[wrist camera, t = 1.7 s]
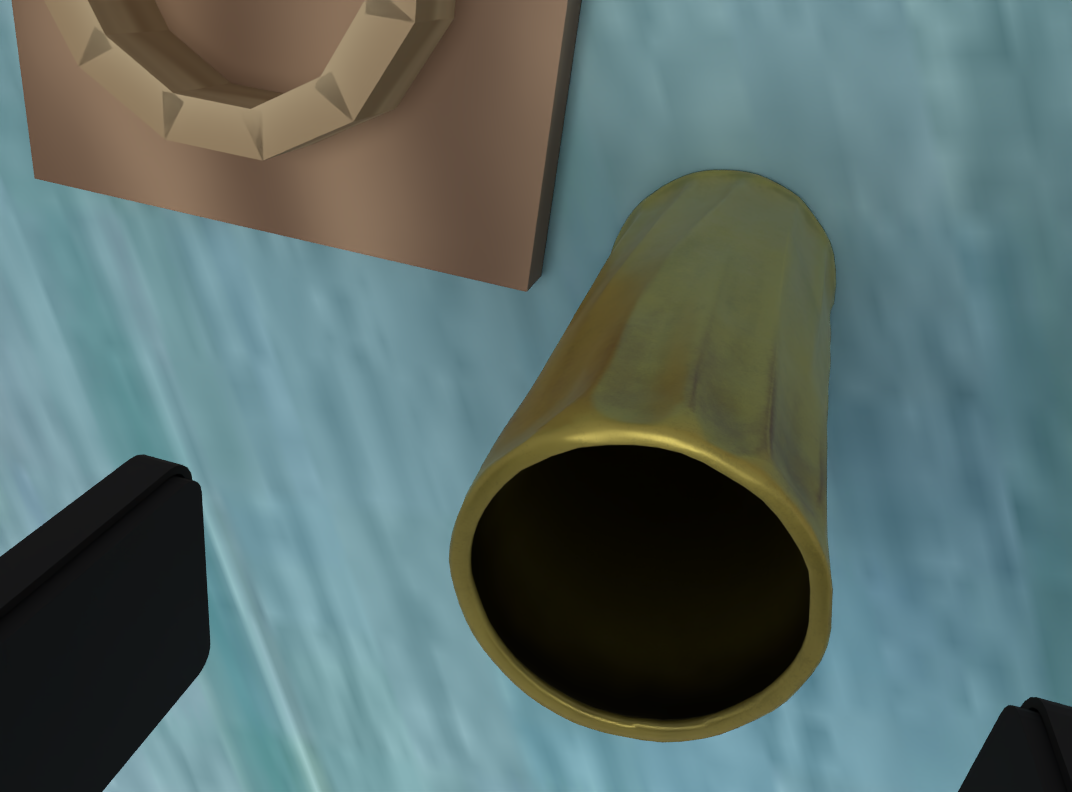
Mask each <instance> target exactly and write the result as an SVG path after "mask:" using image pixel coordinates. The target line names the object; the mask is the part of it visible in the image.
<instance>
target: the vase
mask: <svg viewBox="0 0 1072 792" xmlns="http://www.w3.org/2000/svg"><path fill="white" fill-rule="evenodd" d="M835 289H836V269H835V261H834V254H833V250H832V247H831V244H830V241H829V239H828V237H827V235H826V233H825V231H824V229H823V228H822V226H821V225H820V224H819V222H818V221H817V219H816V218H815V217H814V215H813V214H812V212H811V211H810V210H809V208H808V207H807V206H806V204H805V203H804V202H803V201H802V200H801V199H800V197H798V196H797V195H795V194H794V193H793V192H791V191H790V190H788V189H786V188H784V187H783V186H781V185H779V184H777V183H775V182H773V181H771V180H769V179H767V178H765V177H762V176H760V175H757V174H753V173H749V172H742V171H734V170H708V171H700V172H695V173H692V174H689V175H686V176H683V177H680V178H678V179H676V180H674V181H672V182H670V183H668V184H666V185H664V186H663V187H661V188H659V189H658V190H657V191H655V192H654V193H653V194H651V195H650V196H649V197H647V198H646V199H644V200H643V201H642V202H641V203H640V204H639V205H638V206H637V207H636V208H635V209H634V210H633V212H632V213H631V214H630V216H629V217H628V219H627V220H626V222H625V223H624V225H623V227H622V228H621V230H620V232H619V234H618V236H617V238H616V241H615V243H614V246H613V249H612V252H611V255H610V256H609V258H608V259H607V261H606V263H605V264H604V266H603V268H602V269H601V271H600V273H599V274H598V276H597V278H596V280H595V281H594V283H593V285H592V287H591V288H590V290H589V292H588V293H587V295H586V297H585V298H584V300H583V301H582V303H581V305H580V307H579V308H578V310H577V312H576V313H575V315H574V317H573V319H572V321H571V322H570V324H569V326H568V327H567V329H566V331H565V333H564V334H563V336H562V338H561V339H560V341H559V343H558V344H557V346H556V348H555V349H554V351H553V353H552V354H551V356H550V358H549V360H548V361H547V363H546V365H545V367H544V368H543V370H542V372H541V373H540V375H539V377H538V378H537V380H536V381H535V383H534V385H533V386H532V388H531V389H530V391H529V393H528V394H527V396H526V397H525V399H524V400H523V402H522V403H521V405H520V406H519V408H518V409H517V410H516V412H515V413H514V415H513V416H512V418H511V419H510V421H509V422H508V424H507V425H506V427H505V428H504V430H503V431H502V433H501V434H500V436H499V437H498V439H497V441H496V442H495V444H494V446H493V447H492V449H491V451H490V452H489V454H488V456H487V458H486V459H485V461H484V463H483V464H482V466H481V468H480V471H479V472H478V474H477V476H476V478H475V480H474V482H473V483H472V485H471V487H470V489H469V491H468V493H467V495H466V497H465V499H464V502H463V505H462V507H461V509H460V512H459V514H458V516H457V519H456V522H455V525H454V529H453V532H452V537H451V542H450V551H449V564H450V571H451V577H452V581H453V585H454V589H455V592H456V595H457V599H458V602H459V605H460V607H461V610H462V612H463V614H464V617H465V619H466V621H467V623H468V625H469V627H470V629H471V631H472V633H473V635H474V636H475V638H476V639H477V641H478V642H479V644H480V645H481V647H482V648H483V650H484V651H485V652H486V653H487V655H488V656H489V657H490V658H491V660H492V661H493V662H494V663H495V664H496V665H497V666H498V667H499V669H500V670H501V671H502V672H503V673H504V674H505V675H506V676H507V677H508V678H509V679H510V680H511V681H512V682H513V683H514V684H515V685H516V686H517V687H518V688H520V689H521V690H522V691H523V692H524V693H526V694H527V695H528V696H530V697H531V698H532V699H534V700H535V701H537V702H538V703H539V704H541V705H542V706H544V707H546V708H548V709H549V710H551V711H553V712H554V713H556V714H558V715H560V716H562V717H564V718H566V719H568V720H570V721H572V722H574V723H576V724H579V725H582V726H585V727H588V728H591V729H594V730H597V731H601V732H604V733H608V734H613V735H618V736H623V737H629V738H634V739H639V740H646V741H655V742H682V741H689V740H697V739H704V738H708V737H712V736H716V735H720V734H723V733H726V732H728V731H731V730H733V729H736V728H738V727H741V726H743V725H745V724H747V723H750V722H752V721H754V720H756V719H758V718H760V717H762V716H764V715H766V714H768V713H770V712H772V711H774V710H775V709H777V708H778V707H779V706H781V705H782V704H783V703H785V702H786V701H787V700H788V699H789V698H790V697H791V696H792V695H793V694H794V693H795V692H796V691H797V690H798V689H799V688H800V687H801V686H802V685H803V684H804V683H805V681H806V680H807V679H808V678H809V677H810V676H811V675H812V673H813V672H814V670H815V669H816V667H817V666H818V664H819V663H820V662H821V660H822V657H823V655H824V653H825V650H826V648H827V645H828V641H829V637H830V632H831V618H832V593H833V588H832V579H831V570H830V559H829V549H828V538H827V416H828V386H829V374H830V364H831V359H830V342H831V326H830V312H831V309H832V306H833V304H834V298H835Z"/></svg>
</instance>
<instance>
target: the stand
mask: <svg viewBox="0 0 1072 792" xmlns="http://www.w3.org/2000/svg"><path fill="white" fill-rule="evenodd" d="M581 1H582V0H12V7H13V15H14V22H15V30H16V38H17V46H18V53H19V61H20V69H21V76H22V84H23V92H24V100H25V107H26V115H27V123H28V130H29V138H30V146H31V153H32V161H33V169H34V177H35V179H40V180H44V181H48V182H53V183H57V184H61V185H66V186H70V187H74V188H79V189H83V190H87V191H92V192H96V193H100V194H105V195H109V196H113V197H118V198H122V199H126V200H131V201H135V202H139V203H144V204H148V205H153V206H157V207H161V208H166V209H170V210H174V211H179V212H183V213H187V214H192V215H196V216H200V217H205V218H209V219H213V220H218V221H222V222H226V223H231V224H235V225H239V226H244V227H248V228H252V229H257V230H261V231H265V232H270V233H274V234H278V235H283V236H287V237H291V238H296V239H300V240H304V241H309V242H313V243H317V244H322V245H326V246H330V247H335V248H339V249H343V250H348V251H352V252H356V253H361V254H365V255H369V256H374V257H378V258H382V259H387V260H391V261H396V262H400V263H404V264H409V265H413V266H417V267H422V268H426V269H430V270H435V271H439V272H443V273H448V274H452V275H456V276H461V277H465V278H469V279H474V280H478V281H482V282H487V283H491V284H495V285H500V286H504V287H508V288H513V289H517V290H521V291H526V292H527V291H528V290H529V289H530V288H531V287H532V285H533V284H534V283H535V282H536V281H537V280H538V279H539V278H540V276H541V273H542V266H543V259H544V253H545V246H546V239H547V232H548V225H549V218H550V212H551V205H552V198H553V191H554V184H555V178H556V171H557V164H558V157H559V150H560V144H561V137H562V130H563V123H564V116H565V109H566V103H567V96H568V89H569V82H570V75H571V69H572V62H573V55H574V48H575V41H576V35H577V28H578V21H579V14H580V7H581Z"/></svg>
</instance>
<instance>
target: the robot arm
mask: <svg viewBox="0 0 1072 792" xmlns="http://www.w3.org/2000/svg"><path fill="white" fill-rule="evenodd" d="M209 650H210V629H209V611H208V594H207V576H206V559H205V541H204V523H203V506H202V491H201V487H200V485H199V483H198V482H196V481H193V480H192V476H191V472H190V471H189V469H188V468H187V467H185V466H183V465H180V464H177V463H173V462H169V461H166V460H162V459H158V458H154V457H151V456H147V455H136V456H135V457H133V458H131V459H129V460H128V461H127V462H125V463H124V464H123V465H121V466H120V467H119V468H117V469H116V470H115V471H113V472H112V473H111V474H109V475H108V476H107V477H105V478H104V479H103V480H101V481H100V482H99V483H97V484H96V485H95V486H93V487H92V488H91V489H89V490H88V491H87V492H85V493H84V494H83V495H82V496H80V497H79V498H78V499H76V500H75V501H74V502H72V503H71V504H70V505H68V506H67V507H66V508H64V509H63V510H62V511H60V512H59V513H58V514H56V515H55V516H54V517H52V518H51V519H50V520H48V521H47V522H46V523H44V524H43V525H42V526H40V527H39V528H38V529H36V530H35V531H34V532H32V533H31V534H30V535H28V536H27V537H26V538H24V539H23V540H22V541H21V542H19V543H18V544H17V545H15V546H14V547H13V548H11V549H10V550H9V551H7V552H6V553H5V554H3V555H2V556H1V557H0V792H102V791H103V790H104V789H105V788H106V786H107V785H108V784H109V783H110V782H111V780H112V779H113V778H114V777H115V776H116V774H117V773H118V772H119V771H120V770H121V768H122V767H123V766H124V765H125V763H126V762H127V761H128V760H129V759H130V757H131V756H132V755H133V754H134V753H135V751H136V750H137V749H138V748H139V746H140V745H141V744H142V743H143V742H144V740H145V739H146V738H147V737H148V736H149V734H150V733H151V732H152V731H153V730H154V728H155V727H156V726H157V725H158V723H159V722H160V721H161V720H162V719H163V717H164V716H165V715H166V714H167V713H168V711H169V710H170V709H171V708H172V706H173V705H174V704H175V703H176V702H177V700H178V699H179V698H180V697H181V696H182V694H183V693H184V692H185V691H186V690H187V688H188V687H189V686H190V685H191V683H192V682H193V681H194V680H195V679H196V677H197V676H198V675H199V673H200V672H201V671H202V669H203V667H204V665H205V663H206V660H207V658H208V655H209ZM958 792H1072V707H1070V706H1067V705H1063V704H1059V703H1056V702H1052V701H1048V700H1044V699H1041V698H1037V697H1030V698H1029V699H1027V700H1026V701H1025V702H1024V703H1023V704H1022V706H1021V707H1017V706H1013V705H1008V706H1007V707H1005V708H1004V710H1003V711H1002V712H1001V714H1000V716H999V717H998V719H997V721H996V723H995V725H994V727H993V728H992V730H991V732H990V734H989V736H988V738H987V740H986V741H985V743H984V745H983V747H982V749H981V751H980V752H979V754H978V756H977V758H976V760H975V762H974V763H973V765H972V767H971V769H970V771H969V773H968V774H967V776H966V778H965V780H964V782H963V784H962V785H961V787H960V789H959V791H958Z"/></svg>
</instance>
